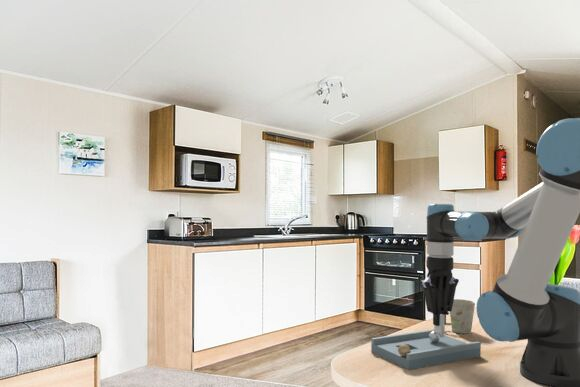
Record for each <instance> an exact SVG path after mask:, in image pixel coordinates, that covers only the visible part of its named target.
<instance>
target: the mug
mask: <svg viewBox="0 0 580 387" xmlns="http://www.w3.org/2000/svg"><path fill="white" fill-rule="evenodd" d="M475 304H476V302H474V301H472V300H467V299H458V298H457V299H455V298H454V301H453V306H452V311H449V315H450V316H449V317H450V322H446V324H445V326H451V331H452V332H454V333H457V334H461V335H462V334H463V335H465V334H466V335H469V334H471V333H472V329H473V327H472V326H473V321H474V320H473V319H474V314H475V306H476V305H475Z"/></svg>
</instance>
